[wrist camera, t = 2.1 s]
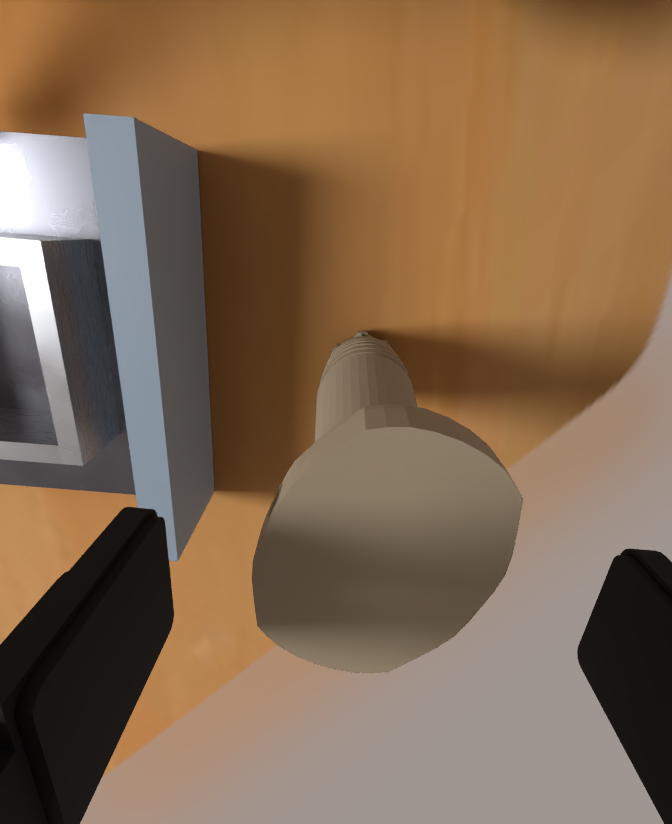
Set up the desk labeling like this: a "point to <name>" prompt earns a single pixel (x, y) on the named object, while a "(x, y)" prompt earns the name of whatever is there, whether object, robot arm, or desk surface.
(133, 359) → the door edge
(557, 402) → the desk surface
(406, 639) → the handle
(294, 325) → the desk surface
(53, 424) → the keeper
